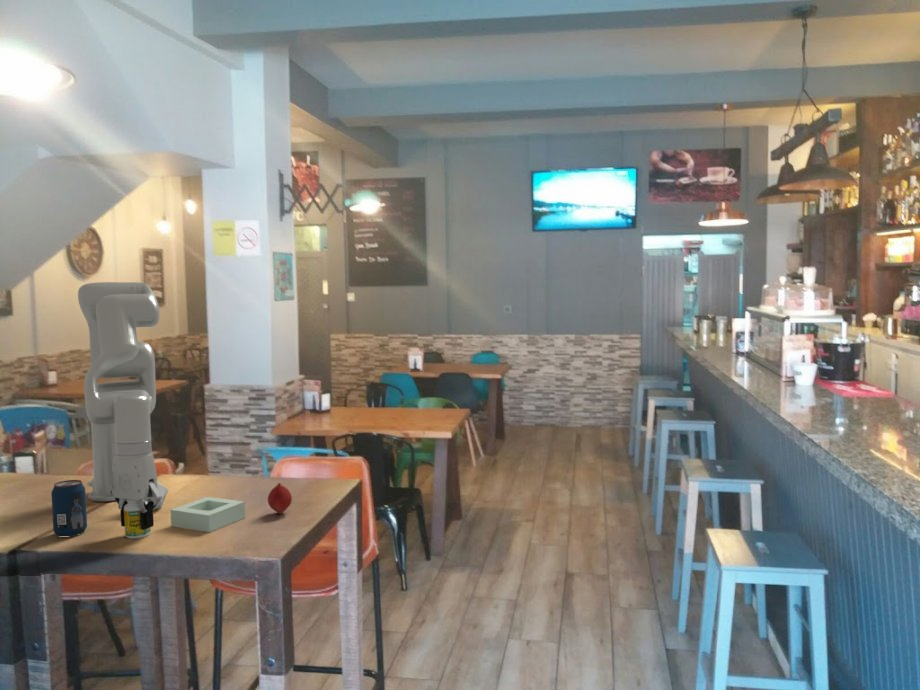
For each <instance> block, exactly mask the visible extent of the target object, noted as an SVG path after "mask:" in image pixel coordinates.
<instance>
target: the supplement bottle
mask: <svg viewBox="0 0 920 690" xmlns="http://www.w3.org/2000/svg"><path fill="white" fill-rule="evenodd" d="M126 501H127V502H128V503H127V504H126V505H125V506H124V522H125V526H124V535H125V538H127V539H131V540H135V539H144V538H145V537H147V536H149V535H151V527H150V528H147V529H145V530H141V527H140V513H141V512H142V509H141V506H140V502H139V501H133V500H126ZM145 503H146V505H147V502H146V501H145Z"/></svg>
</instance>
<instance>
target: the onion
mask: <svg viewBox="0 0 920 690" xmlns="http://www.w3.org/2000/svg"><path fill="white" fill-rule="evenodd" d="M292 501H293V496H292V493H291V492H290V490H289V489H288V488H287V487H286V486H284V485H283V484H282V482H277V484H276V485H275V486H274V487H273V488H272V489H271V490H270V492H269V493H268V497H267V503H268V505H269V507H270V508H271V509H272V510H273V511H274V512H276V513H277V514H280V515H281V514H283V513H284V512H285V511H286V510H287V509H288V508H289V507H290V506H291V504H292Z"/></svg>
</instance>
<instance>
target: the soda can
mask: <svg viewBox="0 0 920 690" xmlns="http://www.w3.org/2000/svg"><path fill="white" fill-rule="evenodd" d="M86 498H87V497H86V488H85V485H84V484H83V481H82V480H80V479H67V480H62V481H58V482H55V483H54V484H53V488H52V491H51V508H52V509H51V510H52V512H51V514H52V526H53V528H52V529H53V530H52V531H53V532H54V534H55V535H56V536H57V535H58V536H73V537H75V536H74V535H77V536H79V535H78V534H80V535H82V534H84V533H83V532H85V531H86V529H87V527H88V517H87V499H86ZM81 533H82V534H81ZM58 536H57V537H58Z"/></svg>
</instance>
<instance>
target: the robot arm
mask: <svg viewBox="0 0 920 690" xmlns="http://www.w3.org/2000/svg"><path fill="white" fill-rule="evenodd" d="M77 299H78V305H79V308H80V310H81V312H82V315H83V317H84V319H85V320H86V322H87V326H88V332H89V352H90V355H89V357H90V367H89V368H88V370H87V372H86V374H85V377H84V382H83V394H84V403H85V411H86V417H87V419H88V421H90V430H91V431H90V432H91V446H92V465H93V466H92V469H93V477H92V479H91V481H90V480H89V481H88V482H87V483H86V485H87V486H88V487H91V488H92V491H91V492H89V493H88V499H89V500H91V501H93V502H113V501H115V502H116V503H117V504H118V505H117V506H118V507H117V508H118V509H119V511H120V523H121V524H120V526H121V527H124V528H125V522H124V506H125V505H126V504H127V503H128V502H127V501H126V500H133V501H139V502H140V506H141V509H142V512H141V513H140V527H141V530H145V529H147V528H150V529H151V528H153V527H154V523H155V522H154V511H155V510H154V509H155V506H156V505H157V504H158V502H159V501H160V500H161V499H162V496H161V494H160V492H159V491H158V489H157V481H158V475H157V468H156V463H155V457H154V454H153V449H152V428H151V427H152V426H151V414H152V413H153V411H154V409H156V404H157V403H156V402H157V390H156V389H157V387H156V386H157V385H156V382H157V381H156V360H155V353H154V350H153V348H152V346H151V345H150V344H149V343H147V342H144V341H138V335H137V334H138V333H137V328H151V327H156V326H157V325H158V323H159V321H160V316H161V315H160V313H161V312H160V306H159V305H160V304H159V302H158V300H157V297H156V295H155V293H154V291H153V290H152V288H151V287H150V285H148V284H147V283H146V282H145V283H144V282H139V281H137V282H126V281H125V282H122V281H121V282H115V281H113V282H111V281H106V282H105V281H104V282H103V281H101V282H89V283H85V284H83V285H81V286H80V287H79V288H78V291H77ZM129 377H130V378H131V377H136V378H137V380H123V381H122V380H120V381H119V380H117V381H105V382H99V383H98V381H99V379H100V378H102V379H112V378H113V379H115V378H129ZM145 500H148V503H147V505H146V503H145Z"/></svg>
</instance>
